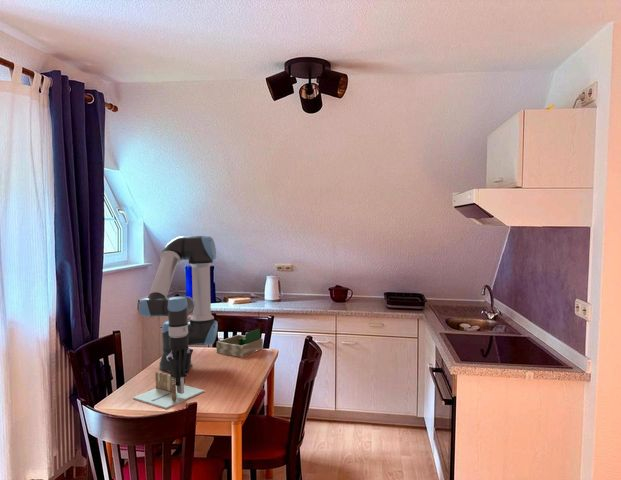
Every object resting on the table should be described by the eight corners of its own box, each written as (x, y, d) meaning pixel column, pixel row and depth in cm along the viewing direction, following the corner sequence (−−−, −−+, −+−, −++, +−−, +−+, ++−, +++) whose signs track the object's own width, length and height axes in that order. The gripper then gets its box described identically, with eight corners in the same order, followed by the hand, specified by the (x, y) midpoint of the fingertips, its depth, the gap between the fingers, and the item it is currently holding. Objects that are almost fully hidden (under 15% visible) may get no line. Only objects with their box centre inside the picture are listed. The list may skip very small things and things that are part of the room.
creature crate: (216, 352, 241) (216, 341, 241) (238, 344, 257) (238, 334, 256) (241, 357, 232) (241, 346, 232) (262, 349, 247) (262, 338, 247)
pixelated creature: (243, 346, 253) (243, 326, 253) (260, 349, 247) (259, 328, 246) (229, 352, 243) (229, 330, 243) (246, 355, 237) (246, 333, 236)
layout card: (132, 398, 179) (132, 397, 179) (171, 383, 196) (171, 381, 196) (166, 409, 169) (166, 407, 169) (204, 391, 186) (204, 390, 186)
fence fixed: (154, 389, 189) (154, 371, 188) (158, 388, 190) (158, 370, 190) (172, 394, 183) (172, 376, 182) (176, 393, 184) (176, 374, 184)
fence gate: (171, 392, 182) (170, 376, 182) (175, 392, 183) (174, 376, 183) (172, 401, 173) (171, 384, 173) (176, 401, 174) (175, 384, 173)
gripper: (172, 340, 170) (174, 400, 171) (197, 332, 181) (199, 389, 182) (159, 338, 174) (161, 396, 175) (184, 330, 185) (186, 385, 186)
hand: (180, 392), depth 179 cm, fingers closed
